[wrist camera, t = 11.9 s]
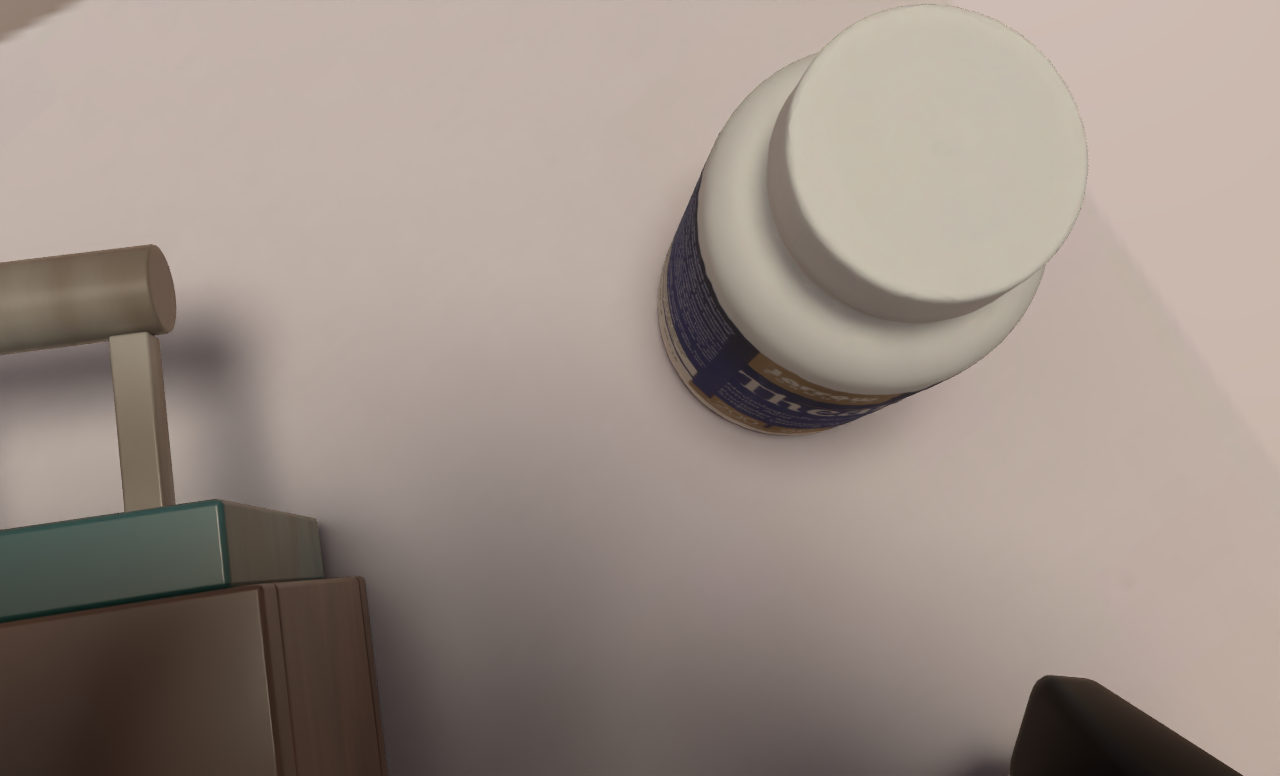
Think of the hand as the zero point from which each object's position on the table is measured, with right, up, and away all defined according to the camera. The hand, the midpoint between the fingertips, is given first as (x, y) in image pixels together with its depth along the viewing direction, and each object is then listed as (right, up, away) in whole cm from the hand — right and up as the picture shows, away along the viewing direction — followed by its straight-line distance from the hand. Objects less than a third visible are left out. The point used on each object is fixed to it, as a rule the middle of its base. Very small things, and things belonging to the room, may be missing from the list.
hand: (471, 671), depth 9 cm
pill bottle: (+4, +4, +16) cm, 17 cm away
